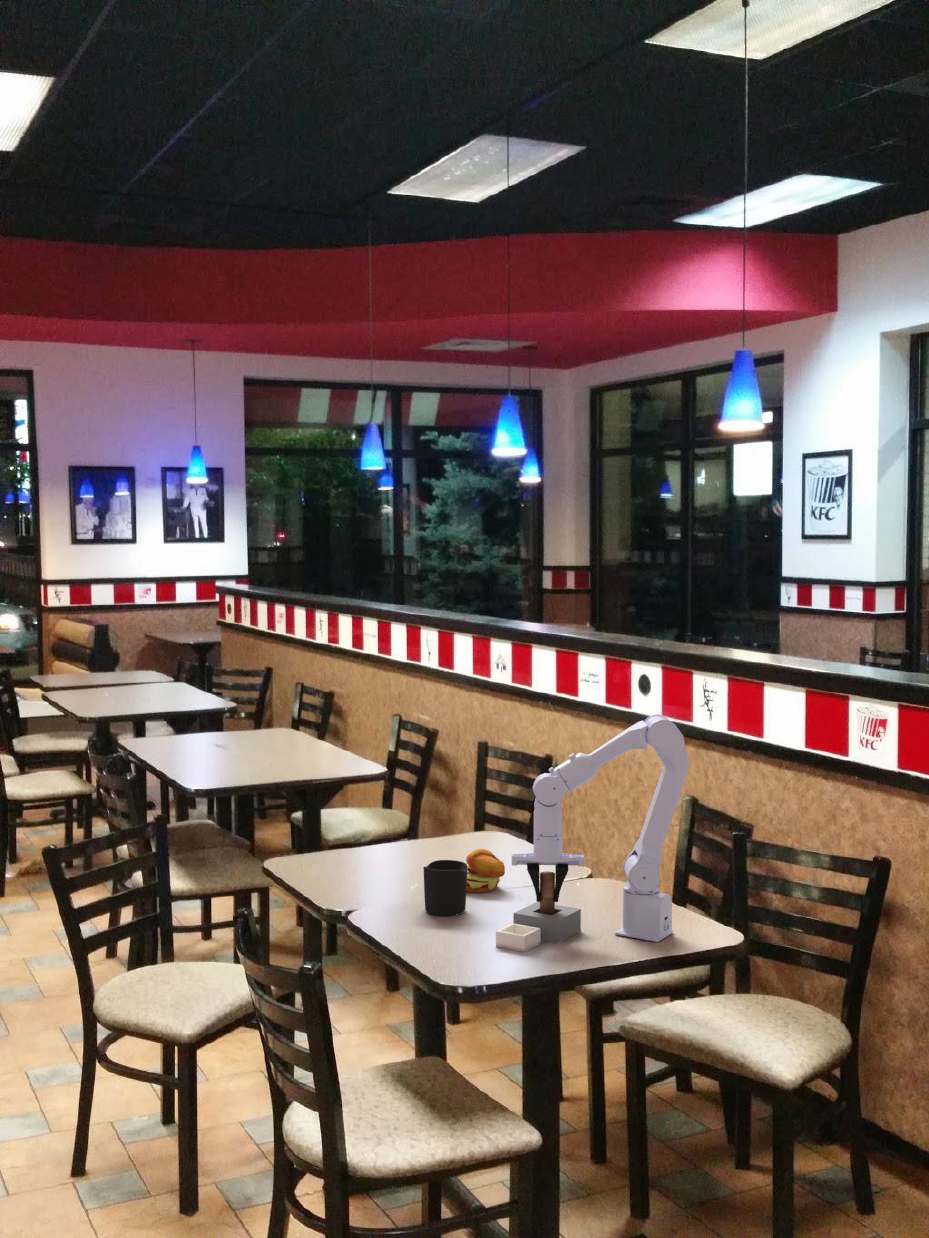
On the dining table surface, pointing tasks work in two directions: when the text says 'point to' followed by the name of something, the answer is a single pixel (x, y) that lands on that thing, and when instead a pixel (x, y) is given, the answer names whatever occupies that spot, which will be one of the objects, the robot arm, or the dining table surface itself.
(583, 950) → the dining table surface
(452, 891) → the pen holder
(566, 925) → the box
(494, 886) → the cheeseburger
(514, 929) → the box
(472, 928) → the dining table surface
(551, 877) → the brown wooden cylinder
